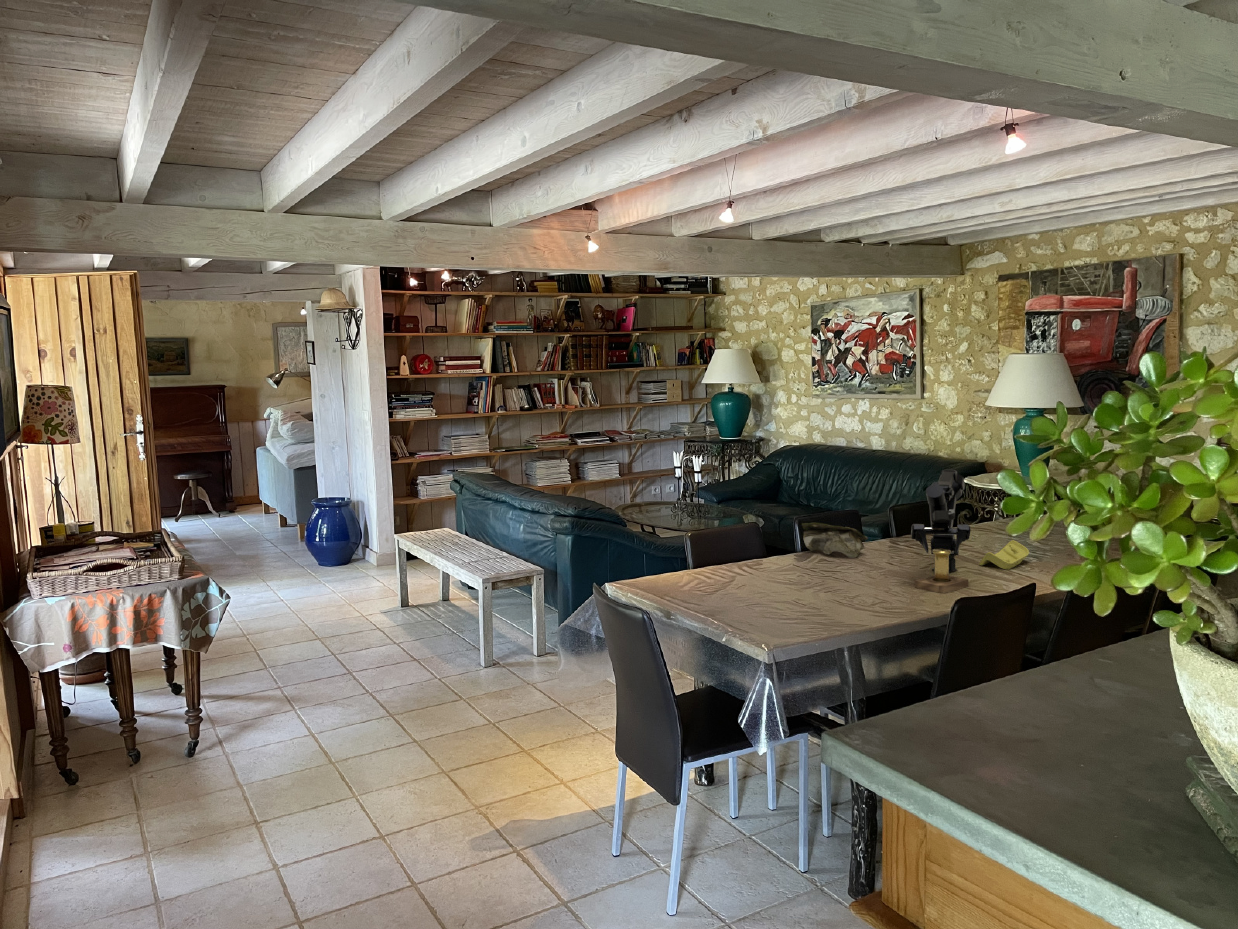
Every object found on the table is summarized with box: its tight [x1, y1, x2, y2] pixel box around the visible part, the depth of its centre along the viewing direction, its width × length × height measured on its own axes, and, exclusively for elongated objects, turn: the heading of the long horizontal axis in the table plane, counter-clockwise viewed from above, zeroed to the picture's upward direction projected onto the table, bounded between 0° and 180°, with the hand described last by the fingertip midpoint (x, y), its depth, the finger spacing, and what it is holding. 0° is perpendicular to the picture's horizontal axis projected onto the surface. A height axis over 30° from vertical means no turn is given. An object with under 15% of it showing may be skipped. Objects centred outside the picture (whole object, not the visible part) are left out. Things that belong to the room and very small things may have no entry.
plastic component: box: [979, 539, 1030, 570], centre depth 333 cm, size 20×7×10 cm
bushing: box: [933, 549, 951, 582], centre depth 302 cm, size 6×6×12 cm
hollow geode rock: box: [801, 521, 868, 559], centre depth 359 cm, size 28×13×15 cm
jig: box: [914, 574, 969, 594], centre depth 302 cm, size 11×14×2 cm
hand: (942, 552), depth 300 cm, fingers open, 9 cm apart
